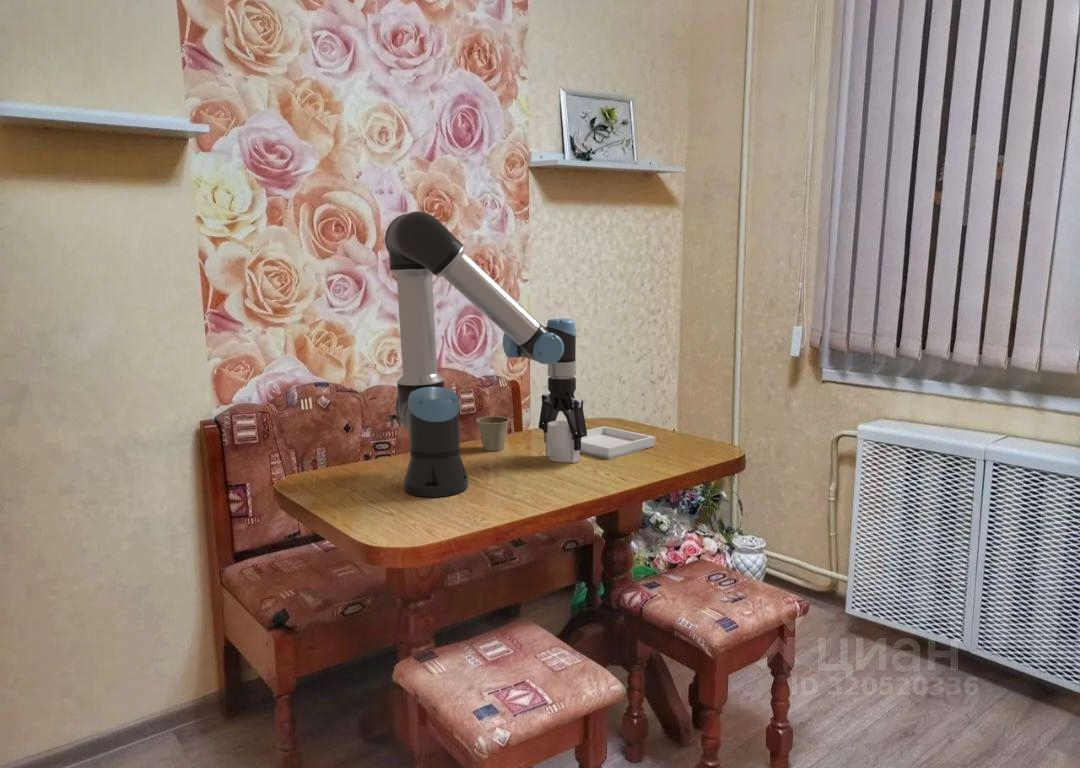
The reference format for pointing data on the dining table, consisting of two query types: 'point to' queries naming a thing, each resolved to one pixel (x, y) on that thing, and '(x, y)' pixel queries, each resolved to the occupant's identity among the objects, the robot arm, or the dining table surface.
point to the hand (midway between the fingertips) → (562, 458)
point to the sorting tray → (614, 442)
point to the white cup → (559, 441)
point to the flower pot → (493, 432)
